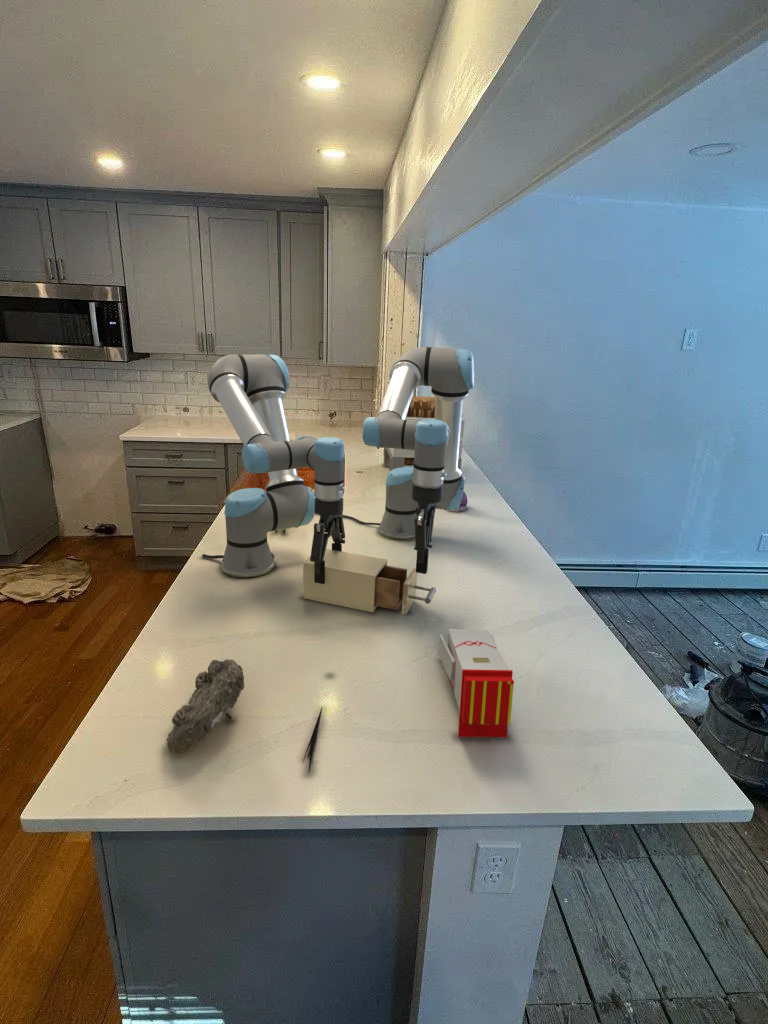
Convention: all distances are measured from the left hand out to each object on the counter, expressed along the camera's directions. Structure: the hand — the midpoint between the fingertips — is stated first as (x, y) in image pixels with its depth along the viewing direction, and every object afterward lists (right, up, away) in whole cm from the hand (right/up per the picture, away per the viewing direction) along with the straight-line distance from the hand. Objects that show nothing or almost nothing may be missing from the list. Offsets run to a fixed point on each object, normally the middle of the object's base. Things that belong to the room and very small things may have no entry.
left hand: (328, 573), depth 155 cm
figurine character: (-21, +11, +46) cm, 51 cm away
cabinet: (+5, -6, +1) cm, 8 cm away
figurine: (+44, +18, +73) cm, 88 cm away
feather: (+3, -23, -46) cm, 52 cm away
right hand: (+25, +1, -9) cm, 26 cm away
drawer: (+16, -7, -3) cm, 18 cm away
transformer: (+32, +36, +120) cm, 129 cm away
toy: (+33, -21, -36) cm, 53 cm away
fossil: (-18, -22, -47) cm, 55 cm away
